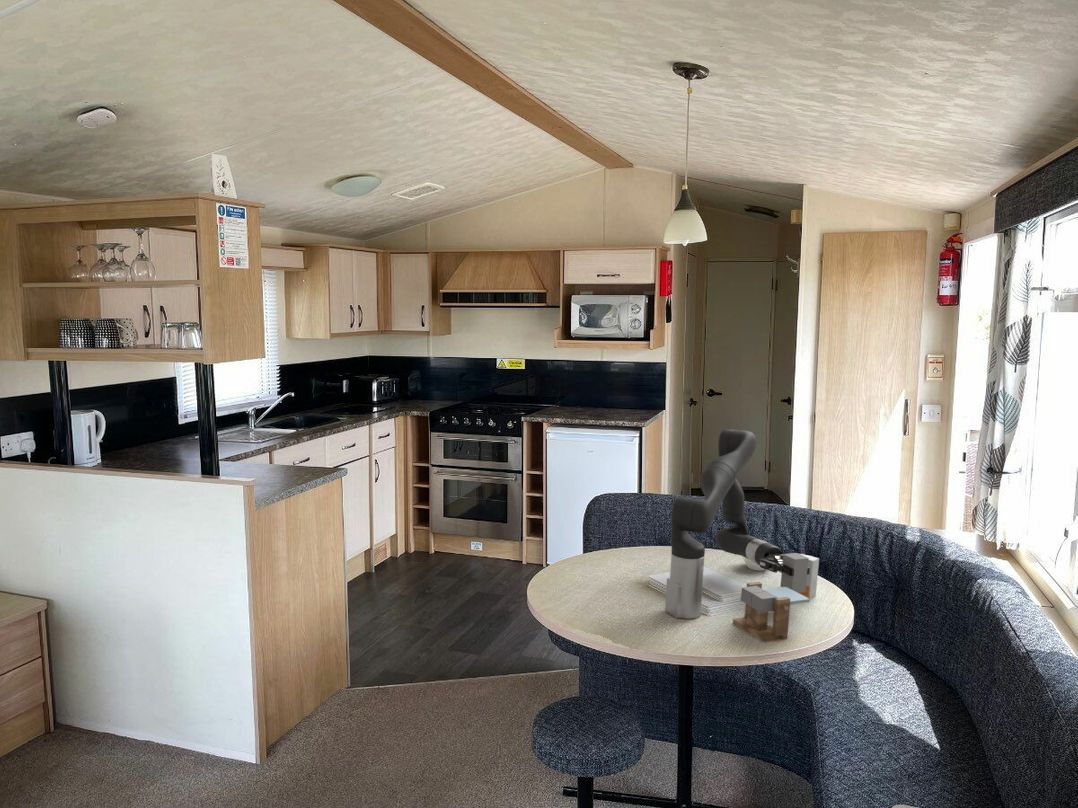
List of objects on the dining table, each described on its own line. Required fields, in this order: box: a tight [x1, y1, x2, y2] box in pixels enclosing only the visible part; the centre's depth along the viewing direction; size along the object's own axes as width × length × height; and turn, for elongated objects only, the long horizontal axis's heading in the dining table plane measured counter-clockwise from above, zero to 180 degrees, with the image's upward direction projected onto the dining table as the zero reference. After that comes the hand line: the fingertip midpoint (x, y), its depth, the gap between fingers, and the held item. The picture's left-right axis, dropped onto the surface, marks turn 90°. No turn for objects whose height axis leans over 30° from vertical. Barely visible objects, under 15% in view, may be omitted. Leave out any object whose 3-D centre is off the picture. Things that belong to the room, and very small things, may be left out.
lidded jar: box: [742, 556, 767, 571], centre depth 275 cm, size 11×11×9 cm
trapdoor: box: [740, 586, 811, 613], centre depth 222 cm, size 10×15×4 cm, turn 112°
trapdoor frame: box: [732, 581, 791, 643], centre depth 221 cm, size 16×8×11 cm, turn 22°
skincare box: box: [797, 553, 820, 600], centre depth 250 cm, size 6×4×12 cm
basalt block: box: [779, 552, 809, 592], centre depth 237 cm, size 5×5×10 cm
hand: (800, 572), depth 235 cm, fingers closed on basalt block, 5 cm apart
